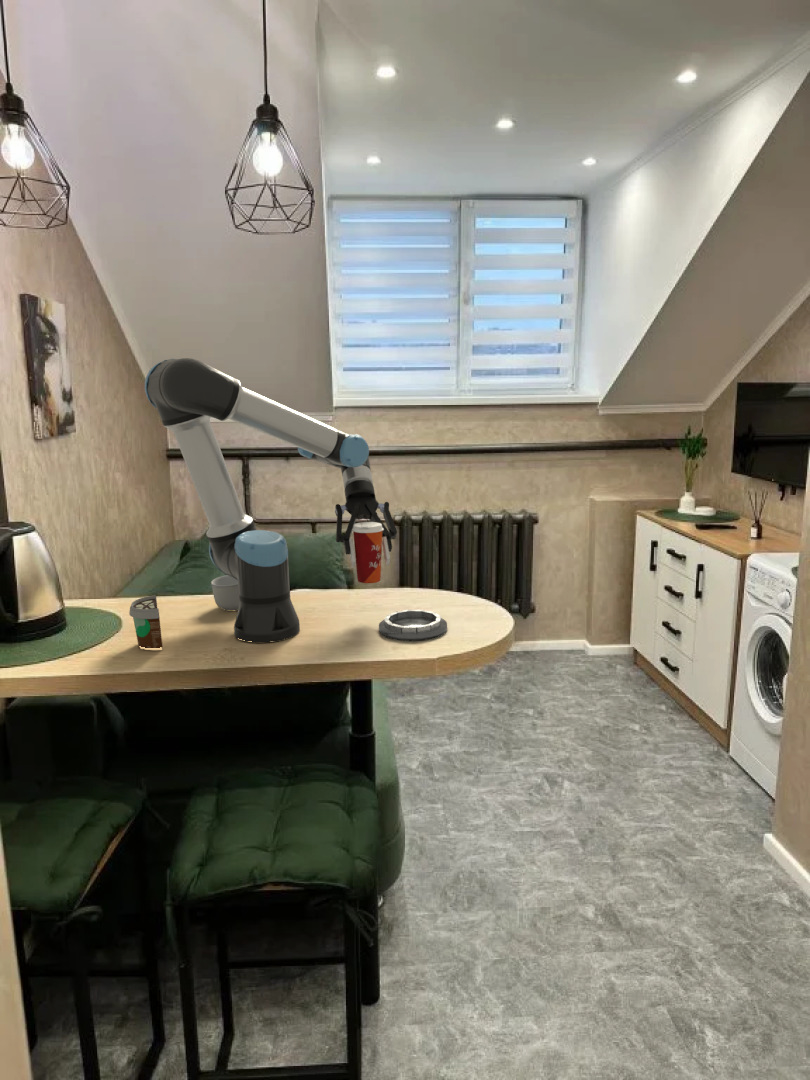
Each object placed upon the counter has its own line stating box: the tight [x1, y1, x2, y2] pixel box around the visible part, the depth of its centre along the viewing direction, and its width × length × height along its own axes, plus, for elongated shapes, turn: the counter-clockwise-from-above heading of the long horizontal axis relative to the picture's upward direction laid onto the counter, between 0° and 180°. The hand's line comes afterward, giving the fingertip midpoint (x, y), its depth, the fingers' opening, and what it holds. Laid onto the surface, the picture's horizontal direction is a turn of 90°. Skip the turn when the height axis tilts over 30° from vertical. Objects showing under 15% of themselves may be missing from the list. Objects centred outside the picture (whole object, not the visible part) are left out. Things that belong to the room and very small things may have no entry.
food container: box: [128, 594, 163, 648], centre depth 170 cm, size 12×6×10 cm, turn 21°
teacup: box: [210, 574, 240, 611], centre depth 197 cm, size 14×11×8 cm
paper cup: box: [352, 521, 384, 584], centre depth 183 cm, size 8×8×14 cm
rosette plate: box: [378, 609, 448, 642], centre depth 176 cm, size 16×16×3 cm
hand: (370, 563), depth 180 cm, fingers closed on paper cup, 8 cm apart
